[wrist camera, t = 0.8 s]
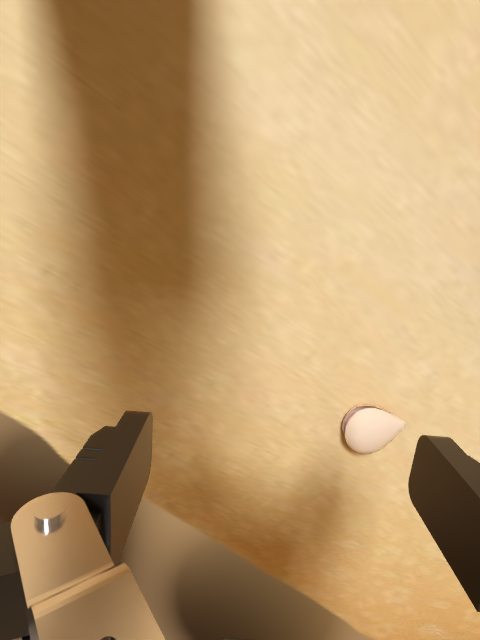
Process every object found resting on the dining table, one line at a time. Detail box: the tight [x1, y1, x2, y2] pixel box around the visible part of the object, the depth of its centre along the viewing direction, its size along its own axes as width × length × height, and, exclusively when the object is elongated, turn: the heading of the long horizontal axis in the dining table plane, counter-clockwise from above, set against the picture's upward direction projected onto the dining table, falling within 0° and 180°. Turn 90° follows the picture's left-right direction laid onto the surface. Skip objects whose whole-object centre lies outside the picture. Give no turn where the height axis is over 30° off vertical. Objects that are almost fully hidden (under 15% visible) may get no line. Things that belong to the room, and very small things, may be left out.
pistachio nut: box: [342, 404, 406, 454], centre depth 31 cm, size 4×5×2 cm
